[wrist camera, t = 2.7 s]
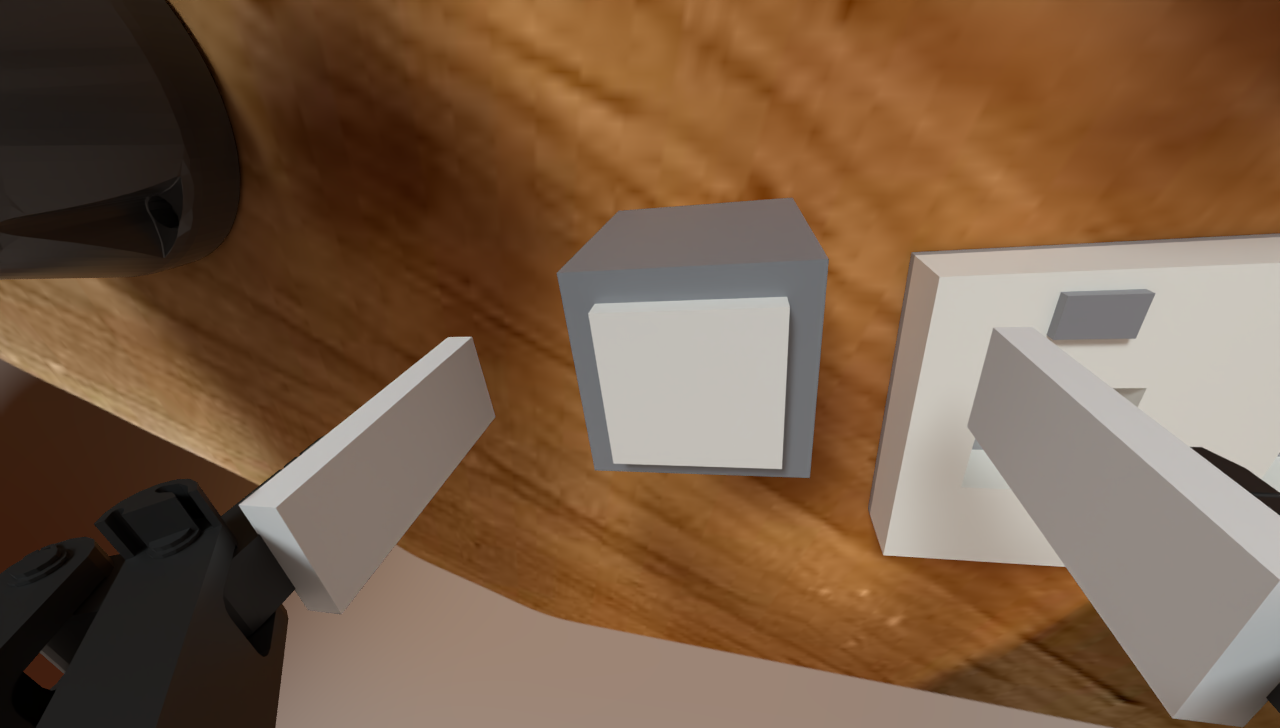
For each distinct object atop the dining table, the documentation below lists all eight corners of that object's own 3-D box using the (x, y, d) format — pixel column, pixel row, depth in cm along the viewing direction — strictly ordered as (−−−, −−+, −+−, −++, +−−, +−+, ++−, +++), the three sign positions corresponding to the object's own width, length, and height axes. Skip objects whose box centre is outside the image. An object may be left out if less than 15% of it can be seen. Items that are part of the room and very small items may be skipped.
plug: (647, 327, 22) (589, 484, 13) (633, 196, 20) (547, 281, 11) (778, 324, 21) (813, 493, 12) (784, 183, 18) (833, 267, 9)
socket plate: (868, 509, 26) (885, 562, 23) (911, 252, 19) (944, 280, 16) (1340, 531, 22) (1435, 599, 19) (1604, 216, 15) (1816, 245, 12)
